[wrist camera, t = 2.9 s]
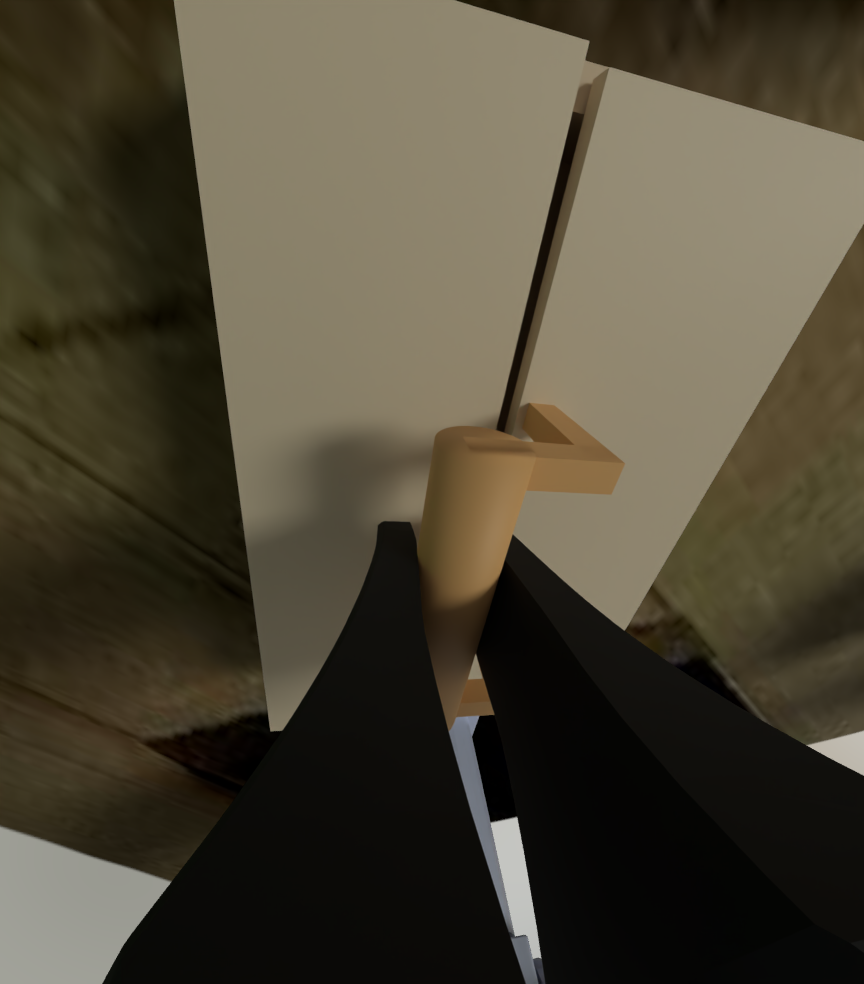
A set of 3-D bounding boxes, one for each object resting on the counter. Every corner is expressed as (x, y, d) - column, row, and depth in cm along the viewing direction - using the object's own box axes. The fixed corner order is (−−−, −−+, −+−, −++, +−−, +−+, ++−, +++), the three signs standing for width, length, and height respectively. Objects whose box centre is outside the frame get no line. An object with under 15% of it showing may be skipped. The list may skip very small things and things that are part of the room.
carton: (541, 629, 19) (578, 709, 16) (289, 635, 17) (270, 731, 14) (732, 175, 10) (913, 138, 7) (249, 56, 8) (161, -89, 5)
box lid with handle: (574, 695, 16) (625, 803, 13) (375, 708, 15) (378, 835, 12) (874, 158, 7) (1257, 90, 4) (455, 40, 6) (564, -217, 3)
